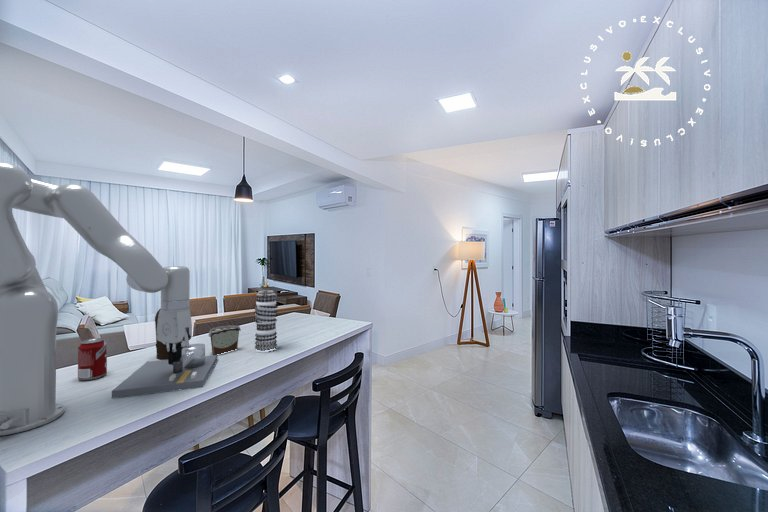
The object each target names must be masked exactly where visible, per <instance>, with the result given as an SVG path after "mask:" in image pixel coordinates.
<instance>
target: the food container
mask: <svg viewBox="0 0 768 512" xmlns="http://www.w3.org/2000/svg"><path fill="white" fill-rule="evenodd" d="M240 332H241V327H240V325H223V326H222V325H221V326H217V327H212V328H210V329H209V332H208V337H210V344H211V354H212V355H217V354H221V353H224V352H228V351H231V350H235V349H237V350H238V346H239V337H240ZM212 355H211V356H212ZM221 355H222V354H221ZM217 356H218V355H217Z"/></svg>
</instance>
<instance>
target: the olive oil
mask: <svg viewBox="0 0 768 512" xmlns="http://www.w3.org/2000/svg"><path fill="white" fill-rule="evenodd" d="M160 310H161V307H160V308H159V309H158V310H157V312H156V314H155V317H154V326H155V327H154V329H155V349H156V359H158V360H168V351H167V346H166V345H165V344H163V343H162V342H160V341H158V340H157V322H158V316H159V311H160Z"/></svg>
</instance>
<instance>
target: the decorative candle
mask: <svg viewBox="0 0 768 512" xmlns="http://www.w3.org/2000/svg"><path fill="white" fill-rule="evenodd" d="M255 295H256V301H255V304H256V306H255V307H254V314H255V316H254V318H255V320H254V322H255V324H256V329H255V334H254V335H255V338H254V340H255V341H254V344H255V346H254V348H255V350H256V349H257V350H260V351H265V350H270V349H274V348H275V347H276V348H277V346H278V344H277V342H278V340H277V337H278V336H277V334H278V332H277V327H276V326H277V325H276V323H277V322H278V319H277V318H276V317H278V310H276V309H277V308H278V307H279V306H278V303H277V299H276V298H277V293H276V292H275V291H274V290H272V289H261V290H259V291H257V293H256V294H255Z"/></svg>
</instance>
